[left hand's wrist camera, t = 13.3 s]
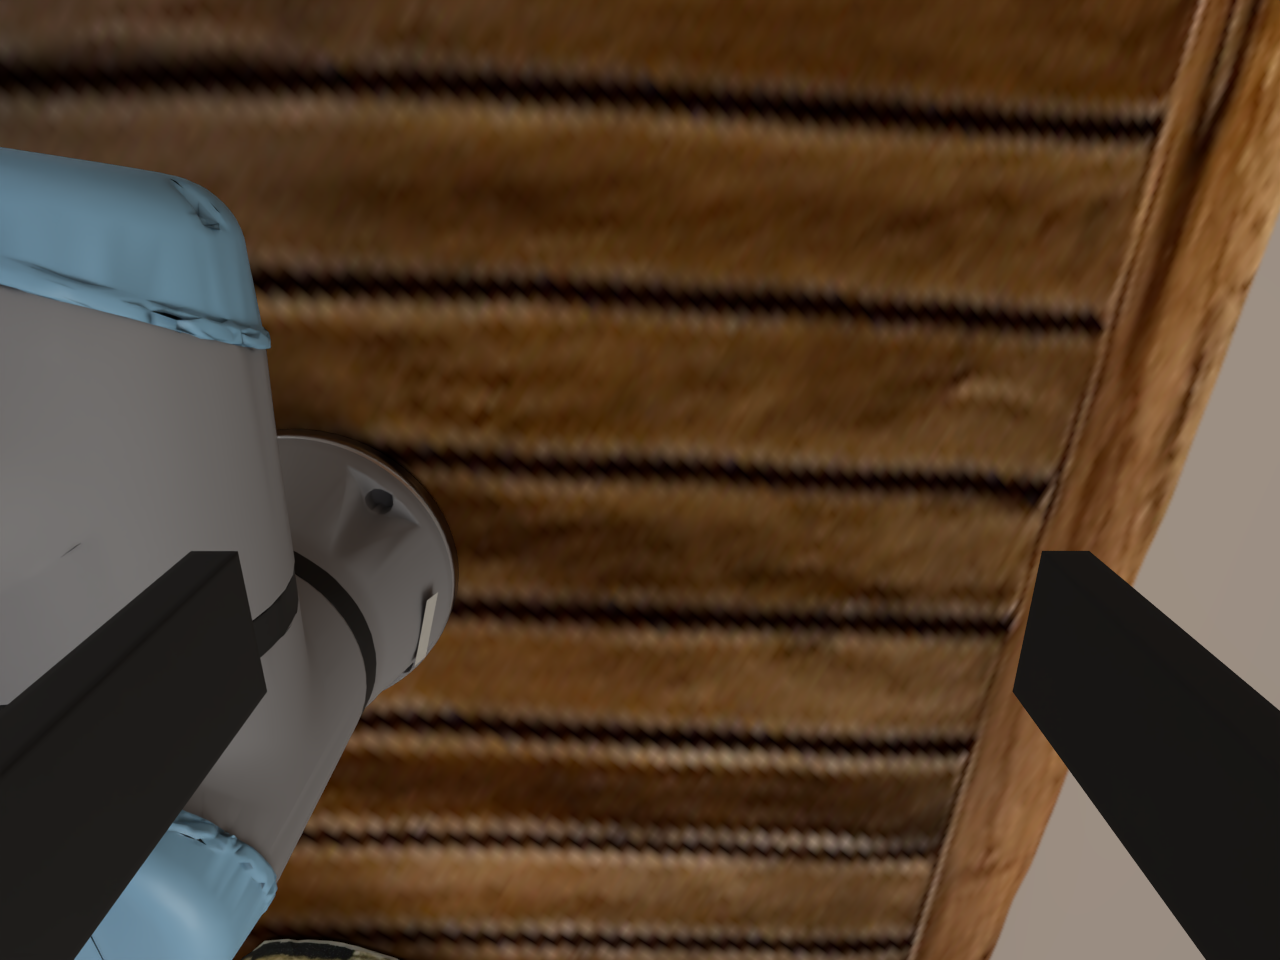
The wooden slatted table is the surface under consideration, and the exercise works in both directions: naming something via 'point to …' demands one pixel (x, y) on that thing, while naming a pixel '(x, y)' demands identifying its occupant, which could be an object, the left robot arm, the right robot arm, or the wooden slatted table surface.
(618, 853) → the wooden slatted table surface
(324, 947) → the fossil
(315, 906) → the wooden slatted table surface
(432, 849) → the wooden slatted table surface
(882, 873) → the wooden slatted table surface
